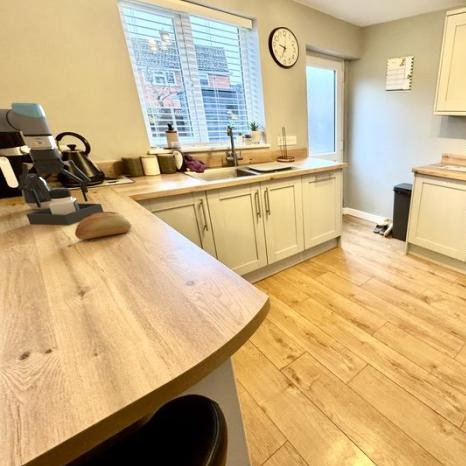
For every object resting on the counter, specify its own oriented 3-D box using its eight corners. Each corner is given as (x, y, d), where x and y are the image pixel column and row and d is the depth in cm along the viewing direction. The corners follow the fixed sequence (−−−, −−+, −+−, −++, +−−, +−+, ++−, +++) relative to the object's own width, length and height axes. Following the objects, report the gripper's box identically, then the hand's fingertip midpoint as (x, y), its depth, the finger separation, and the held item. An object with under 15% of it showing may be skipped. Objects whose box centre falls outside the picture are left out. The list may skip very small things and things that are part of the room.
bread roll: (75, 237, 98) (67, 215, 95) (128, 226, 108) (122, 206, 105) (79, 245, 92) (71, 222, 89) (135, 233, 102) (129, 211, 99)
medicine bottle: (79, 218, 116) (68, 189, 111) (55, 222, 112) (43, 191, 107) (82, 214, 121) (72, 186, 117) (59, 217, 117) (47, 188, 113)
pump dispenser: (44, 204, 134) (31, 171, 128) (66, 205, 133) (54, 172, 128) (20, 211, 124) (5, 175, 119) (43, 211, 124) (29, 176, 118)
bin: (30, 224, 110) (25, 214, 108) (69, 211, 124) (66, 202, 123) (68, 225, 109) (64, 215, 107) (103, 212, 123) (100, 203, 122)
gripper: (-11, 151, 96) (16, 212, 104) (87, 147, 111) (104, 200, 119) (-6, 149, 101) (19, 207, 109) (86, 145, 117) (103, 196, 125)
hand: (63, 203), depth 114 cm, fingers open, 13 cm apart
